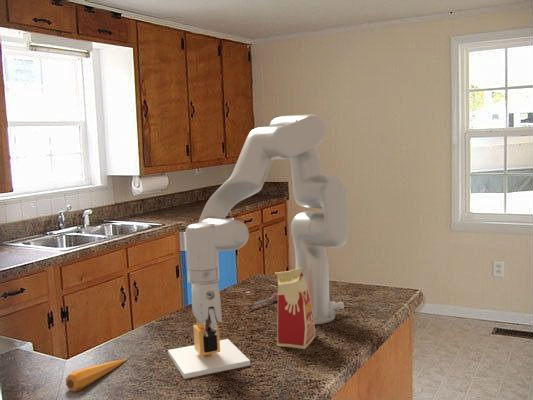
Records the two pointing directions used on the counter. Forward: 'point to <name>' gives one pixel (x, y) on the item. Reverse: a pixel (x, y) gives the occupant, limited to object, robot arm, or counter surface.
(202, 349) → the gold domed block
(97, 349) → the counter surface
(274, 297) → the screwdriver
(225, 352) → the white plate
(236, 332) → the counter surface
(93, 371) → the carrot
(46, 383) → the counter surface
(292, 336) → the milk carton
